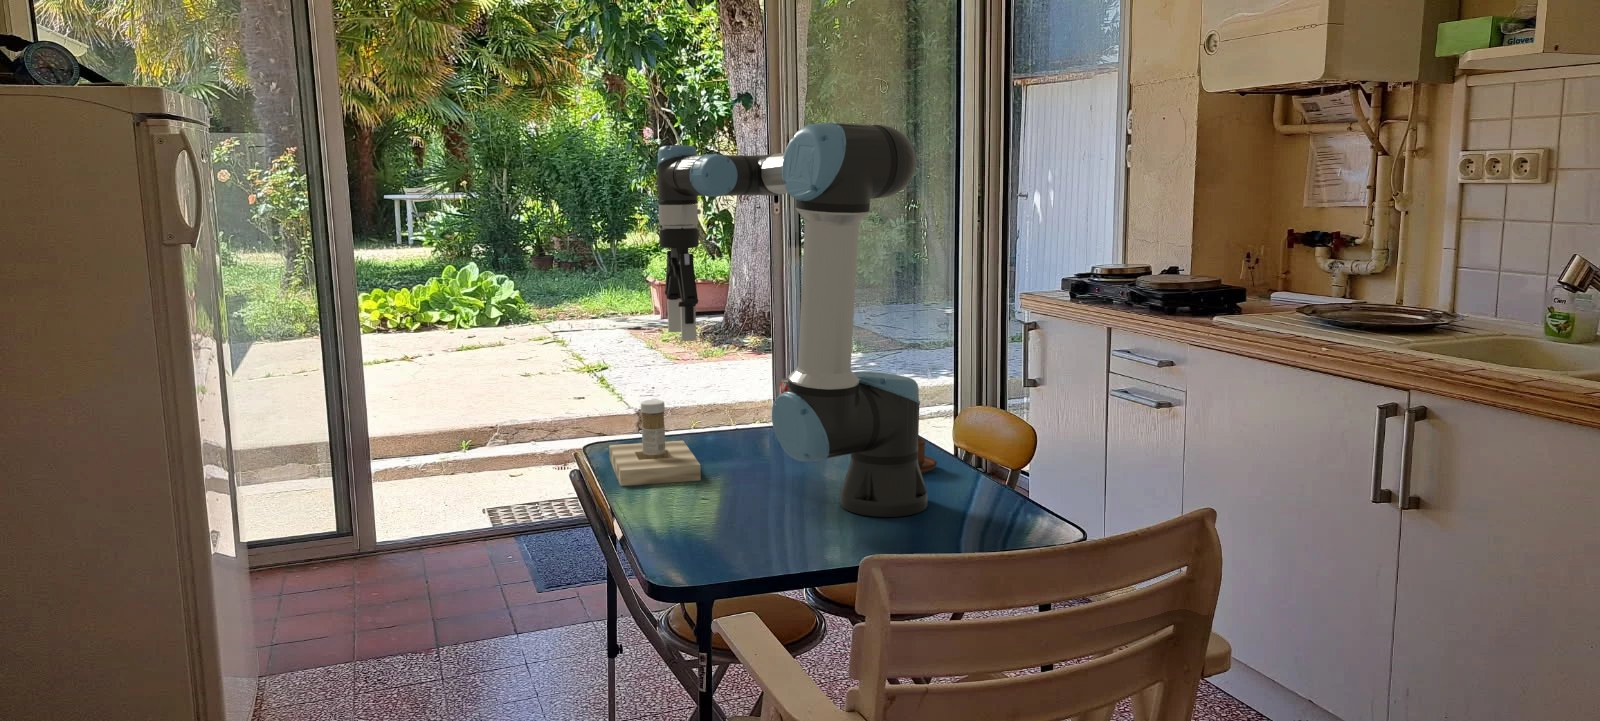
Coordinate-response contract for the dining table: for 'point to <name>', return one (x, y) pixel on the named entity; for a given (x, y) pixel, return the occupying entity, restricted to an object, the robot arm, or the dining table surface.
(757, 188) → the robot arm
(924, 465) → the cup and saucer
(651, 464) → the socket plate
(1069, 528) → the dining table surface
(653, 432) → the sprinkles bottle
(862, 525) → the dining table surface
